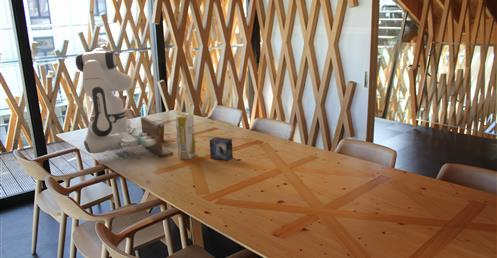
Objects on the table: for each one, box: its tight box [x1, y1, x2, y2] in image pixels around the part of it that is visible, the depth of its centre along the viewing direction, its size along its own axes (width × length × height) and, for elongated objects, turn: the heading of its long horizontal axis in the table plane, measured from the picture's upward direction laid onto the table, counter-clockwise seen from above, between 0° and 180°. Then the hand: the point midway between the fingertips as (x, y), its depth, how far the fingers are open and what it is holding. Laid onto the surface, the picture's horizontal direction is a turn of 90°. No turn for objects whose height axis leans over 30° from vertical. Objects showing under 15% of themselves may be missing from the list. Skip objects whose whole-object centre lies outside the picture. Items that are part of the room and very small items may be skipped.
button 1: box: [138, 132, 147, 137], centre depth 240 cm, size 8×4×4 cm, turn 124°
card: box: [115, 150, 134, 160], centre depth 233 cm, size 6×12×1 cm, turn 34°
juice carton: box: [175, 112, 196, 160], centre depth 224 cm, size 9×8×24 cm
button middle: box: [137, 136, 152, 146], centre depth 232 cm, size 8×4×4 cm, turn 124°
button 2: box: [141, 138, 157, 149], centre depth 227 cm, size 8×4×4 cm, turn 124°
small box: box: [209, 136, 234, 162], centre depth 222 cm, size 11×6×10 cm, turn 62°
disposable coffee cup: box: [152, 119, 166, 142], centre depth 256 cm, size 10×10×12 cm
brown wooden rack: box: [140, 116, 174, 159], centre depth 236 cm, size 8×23×18 cm, turn 34°
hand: (140, 137), depth 238 cm, fingers closed, pressing on button 1
